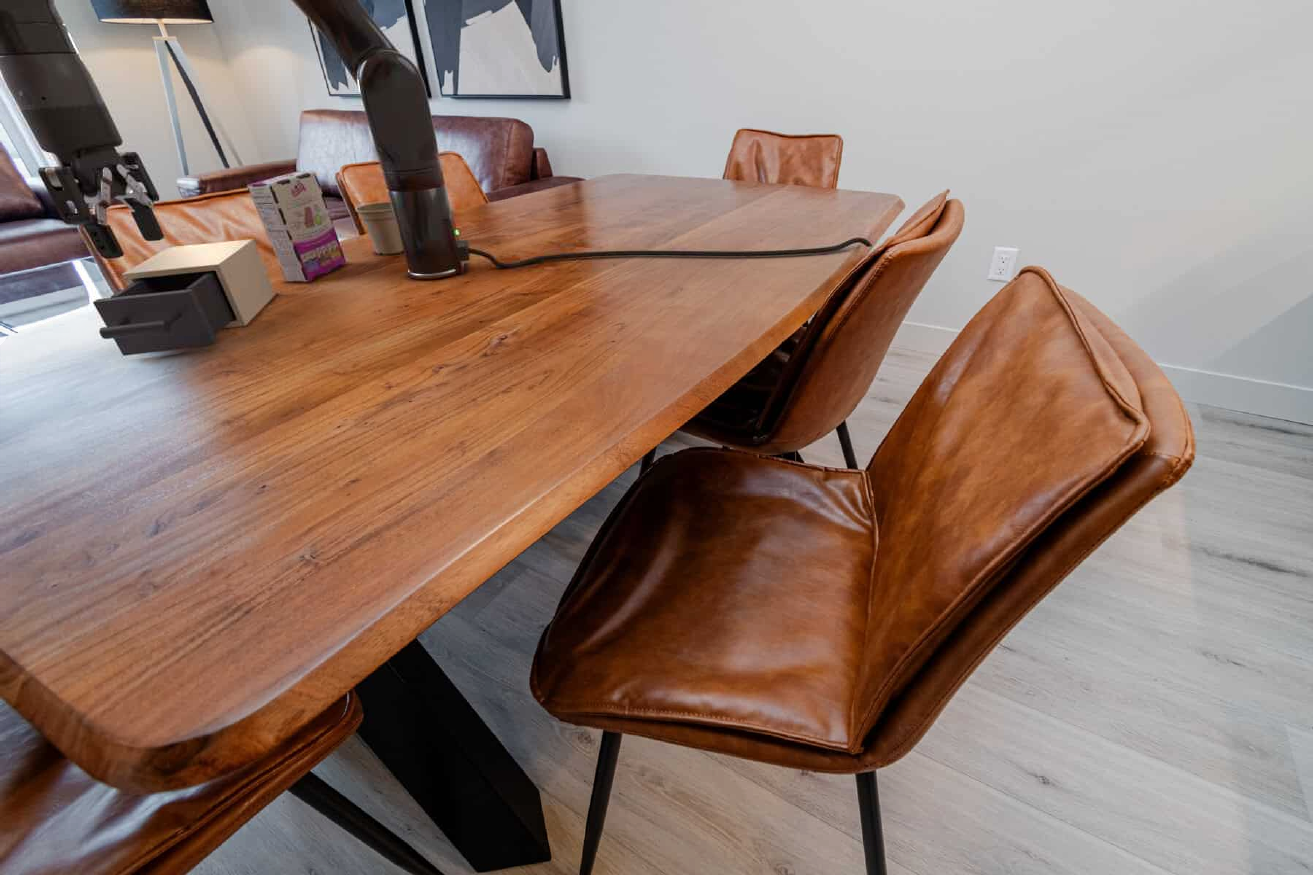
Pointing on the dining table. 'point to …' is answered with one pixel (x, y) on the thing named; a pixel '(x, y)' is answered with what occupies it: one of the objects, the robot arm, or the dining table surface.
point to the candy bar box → (298, 225)
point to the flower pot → (381, 227)
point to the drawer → (166, 313)
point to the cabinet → (233, 267)
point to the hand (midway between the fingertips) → (135, 248)
